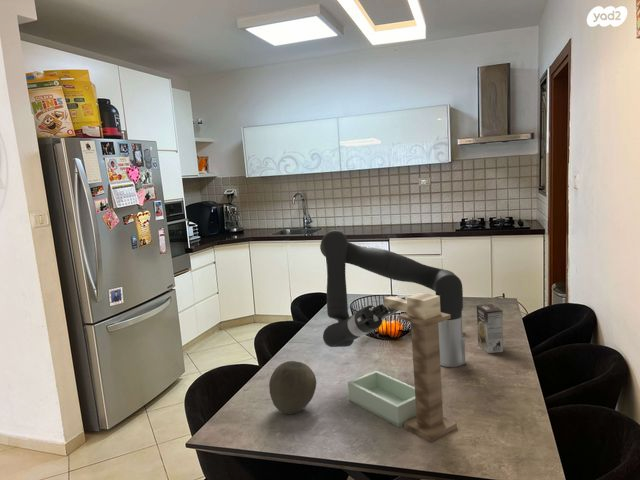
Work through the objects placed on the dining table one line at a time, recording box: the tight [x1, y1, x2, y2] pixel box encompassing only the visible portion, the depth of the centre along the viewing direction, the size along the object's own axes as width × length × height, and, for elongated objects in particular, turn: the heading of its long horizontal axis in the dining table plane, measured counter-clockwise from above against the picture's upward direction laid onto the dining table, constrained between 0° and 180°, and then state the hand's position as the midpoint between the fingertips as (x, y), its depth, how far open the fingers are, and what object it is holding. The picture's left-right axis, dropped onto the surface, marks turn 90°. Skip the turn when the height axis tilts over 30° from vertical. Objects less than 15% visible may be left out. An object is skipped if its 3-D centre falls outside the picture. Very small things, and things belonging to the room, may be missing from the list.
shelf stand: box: [398, 312, 458, 443], centre depth 128 cm, size 10×10×32 cm
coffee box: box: [476, 303, 504, 354], centre depth 181 cm, size 9×6×16 cm
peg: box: [383, 292, 441, 320], centre depth 130 cm, size 17×6×5 cm, turn 35°
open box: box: [347, 370, 416, 428], centre depth 144 cm, size 22×12×6 cm, turn 35°
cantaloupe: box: [268, 360, 317, 415], centre depth 146 cm, size 14×14×15 cm
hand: (394, 303), depth 135 cm, fingers open, 8 cm apart
